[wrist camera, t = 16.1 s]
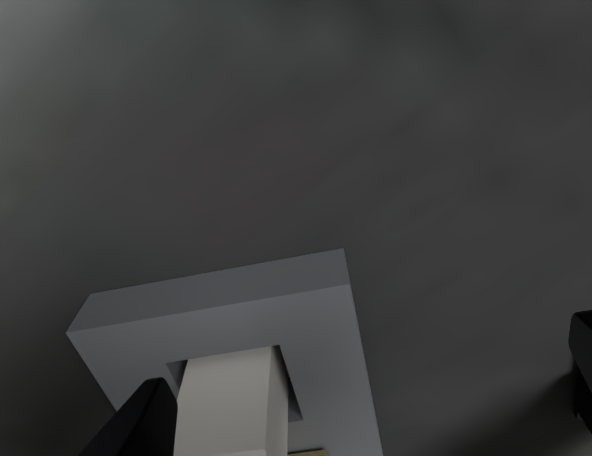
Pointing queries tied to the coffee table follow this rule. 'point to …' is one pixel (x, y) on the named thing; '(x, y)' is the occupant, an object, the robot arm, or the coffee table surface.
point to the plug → (234, 405)
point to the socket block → (244, 341)
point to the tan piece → (311, 453)
